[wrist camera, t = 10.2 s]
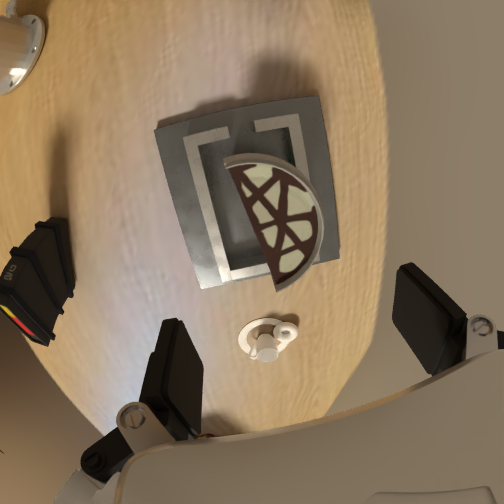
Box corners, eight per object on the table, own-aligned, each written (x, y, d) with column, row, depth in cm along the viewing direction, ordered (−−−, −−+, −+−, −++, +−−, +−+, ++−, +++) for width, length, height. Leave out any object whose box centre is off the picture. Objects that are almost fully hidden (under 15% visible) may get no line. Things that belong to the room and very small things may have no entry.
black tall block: (62, 197, 27) (7, 305, 18) (87, 263, 37) (57, 353, 28) (40, 196, 27) (-15, 297, 17) (68, 260, 37) (37, 346, 27)
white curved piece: (297, 313, 39) (303, 331, 36) (293, 351, 43) (298, 369, 39) (236, 317, 39) (237, 336, 35) (239, 355, 42) (240, 374, 38)
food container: (313, 231, 32) (343, 272, 23) (264, 249, 33) (278, 297, 24) (279, 131, 27) (303, 131, 18) (224, 151, 28) (222, 161, 19)
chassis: (156, 129, 27) (147, 130, 24) (315, 96, 27) (326, 93, 23) (201, 284, 35) (199, 300, 32) (337, 255, 35) (346, 267, 32)
